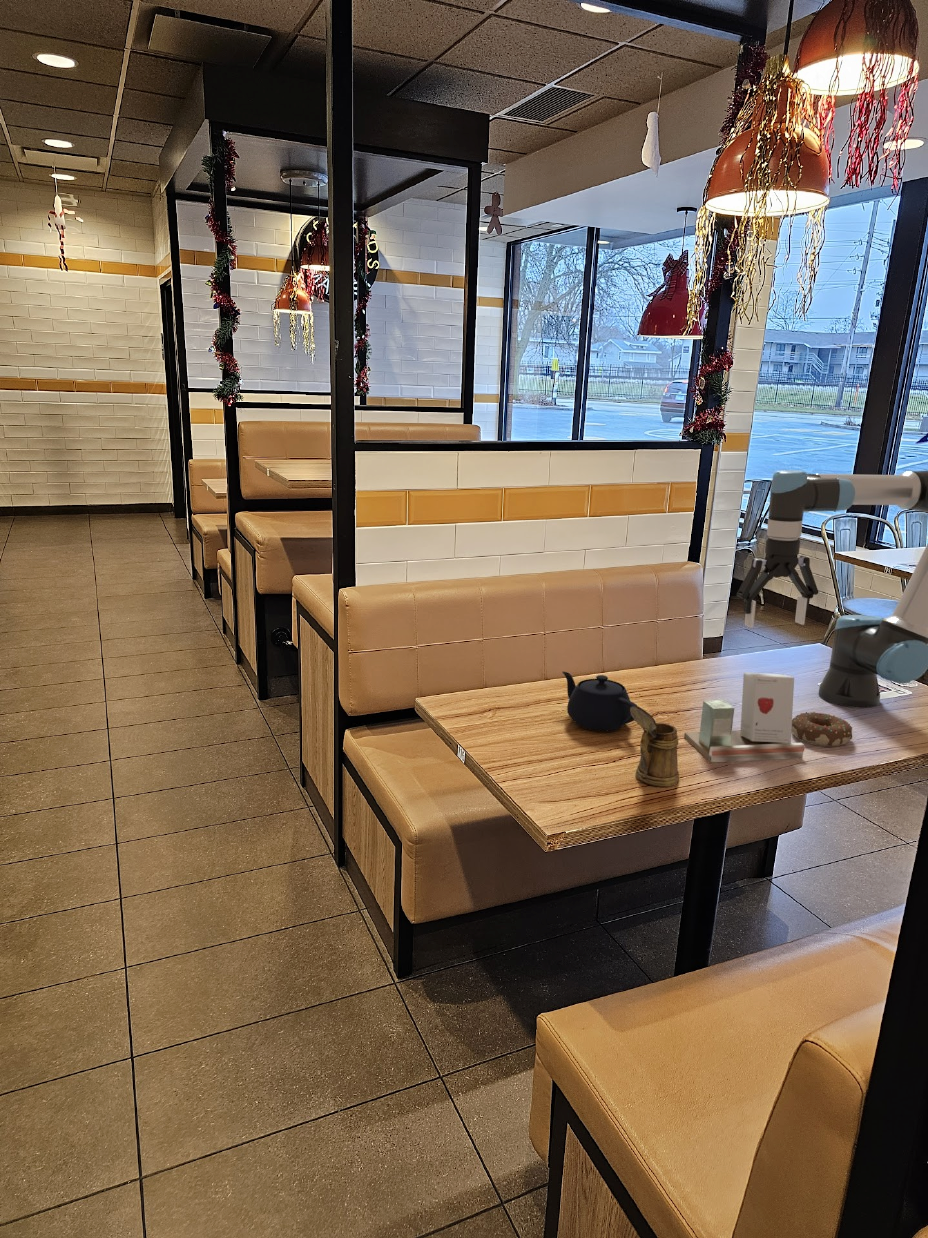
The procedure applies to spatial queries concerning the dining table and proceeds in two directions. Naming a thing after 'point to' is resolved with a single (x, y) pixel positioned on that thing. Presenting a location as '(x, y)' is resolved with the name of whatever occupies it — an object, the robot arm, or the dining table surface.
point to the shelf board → (746, 749)
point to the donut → (821, 729)
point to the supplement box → (767, 707)
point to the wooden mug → (656, 751)
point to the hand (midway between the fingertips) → (774, 625)
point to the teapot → (598, 703)
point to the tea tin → (716, 723)
